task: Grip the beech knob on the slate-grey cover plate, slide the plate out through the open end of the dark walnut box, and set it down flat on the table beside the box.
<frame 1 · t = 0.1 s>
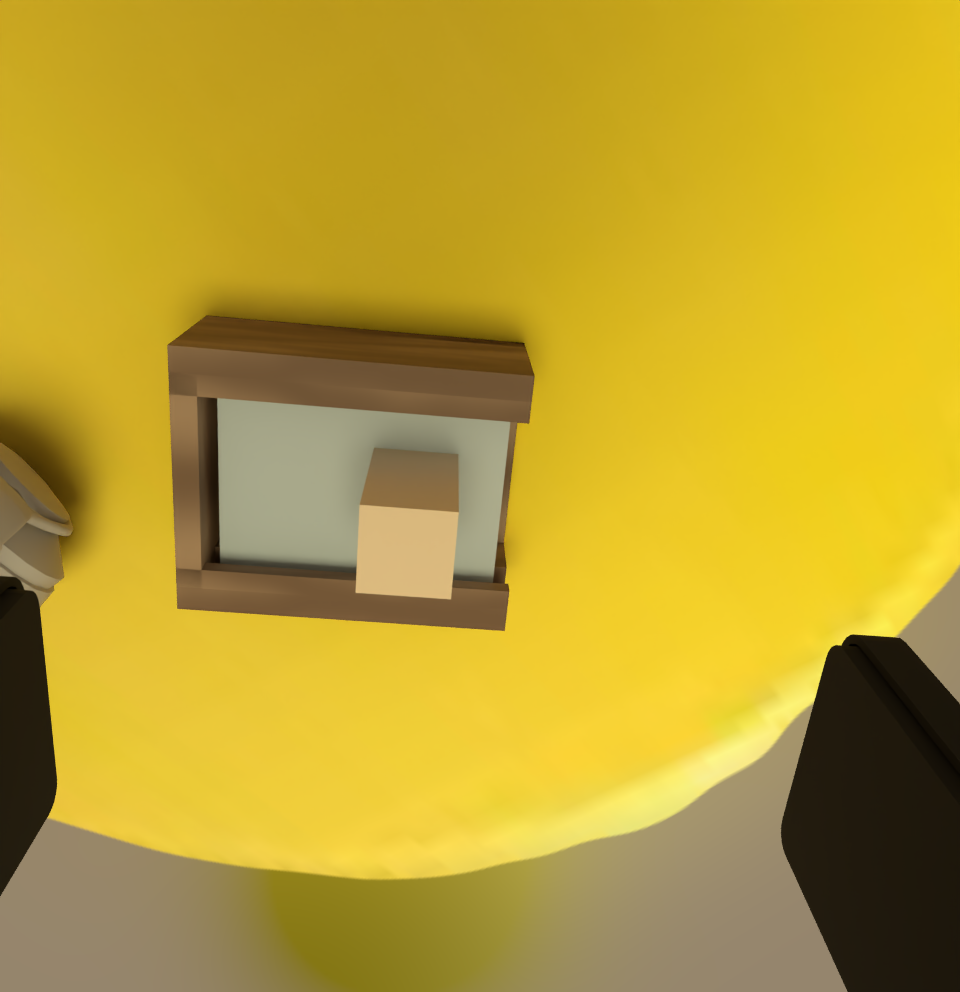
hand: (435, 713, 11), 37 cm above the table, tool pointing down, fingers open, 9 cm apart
cover plate: (363, 478, 44), point 4 cm above the table, touching walnut box
walnut box: (361, 450, 48), on the table
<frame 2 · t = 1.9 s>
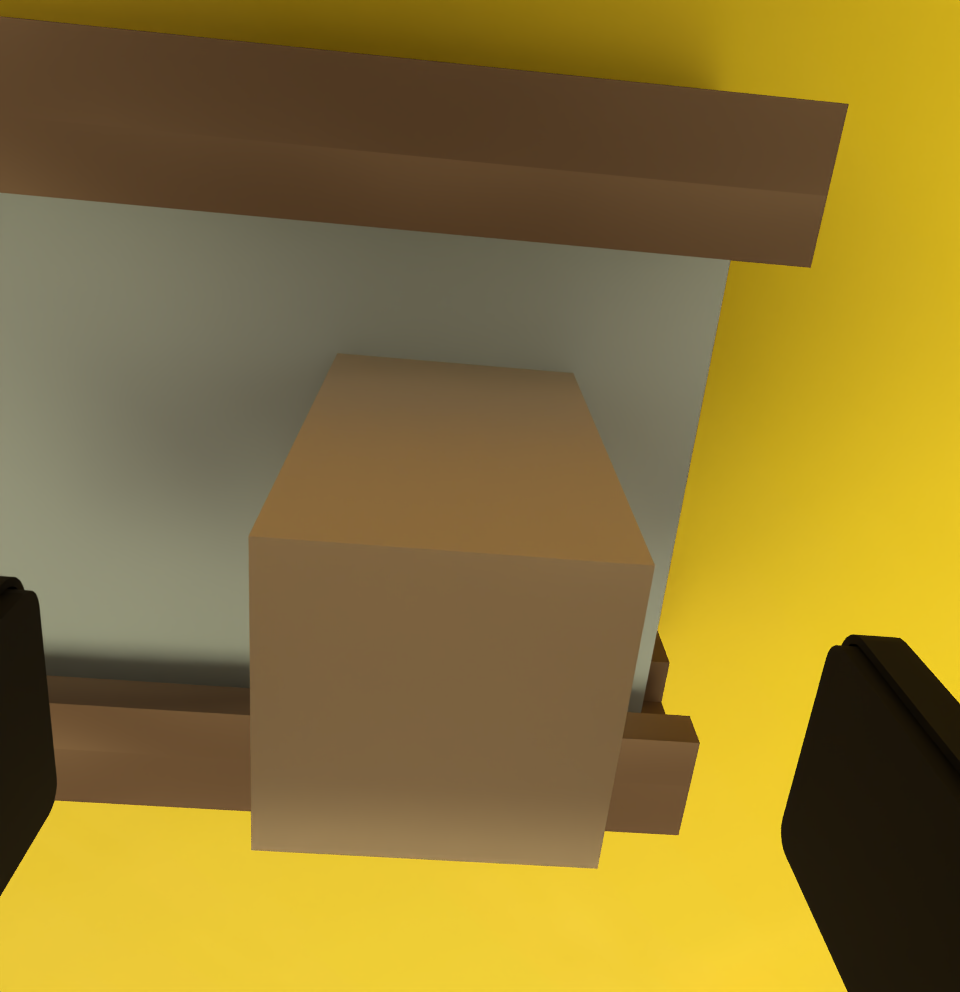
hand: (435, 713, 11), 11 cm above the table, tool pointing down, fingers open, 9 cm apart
cover plate: (313, 442, 17), point 4 cm above the table, touching walnut box
walnut box: (317, 379, 21), on the table
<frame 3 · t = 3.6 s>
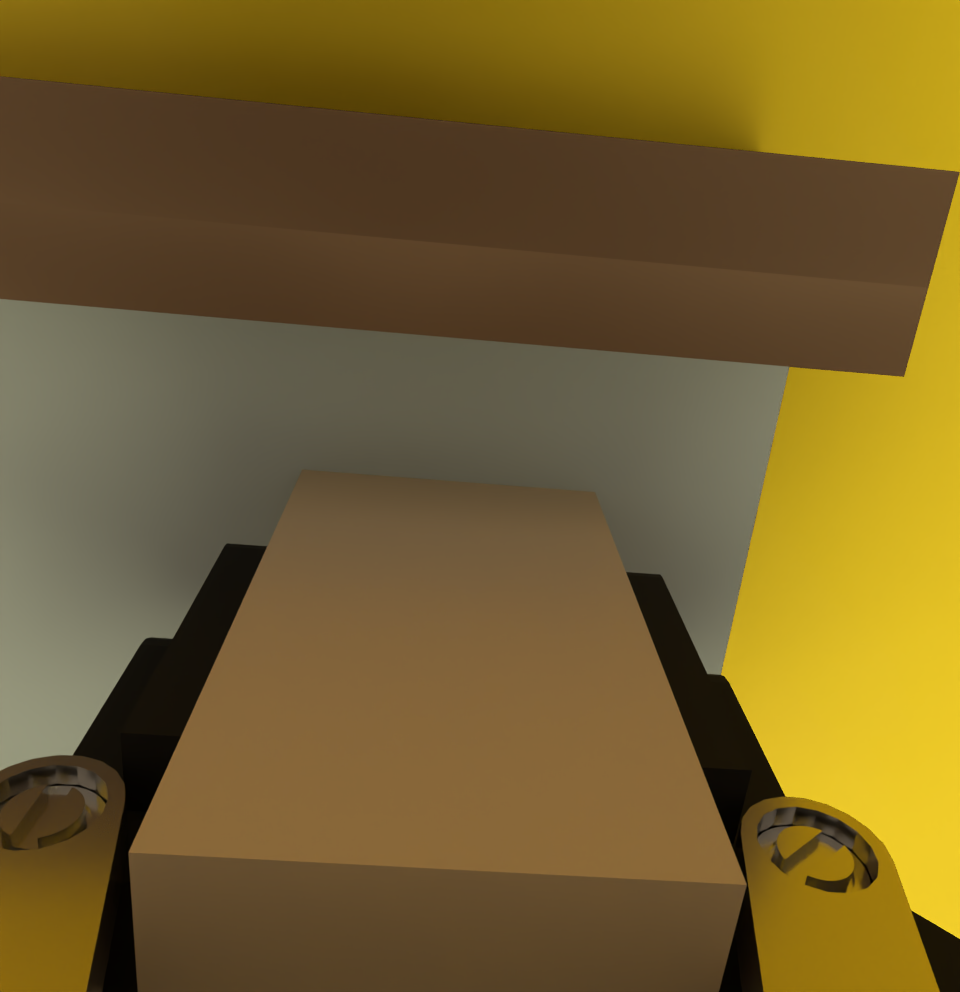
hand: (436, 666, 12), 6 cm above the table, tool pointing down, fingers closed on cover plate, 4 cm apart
cover plate: (277, 566, 14), point 4 cm above the table, touching gripper, walnut box
walnut box: (288, 472, 18), on the table
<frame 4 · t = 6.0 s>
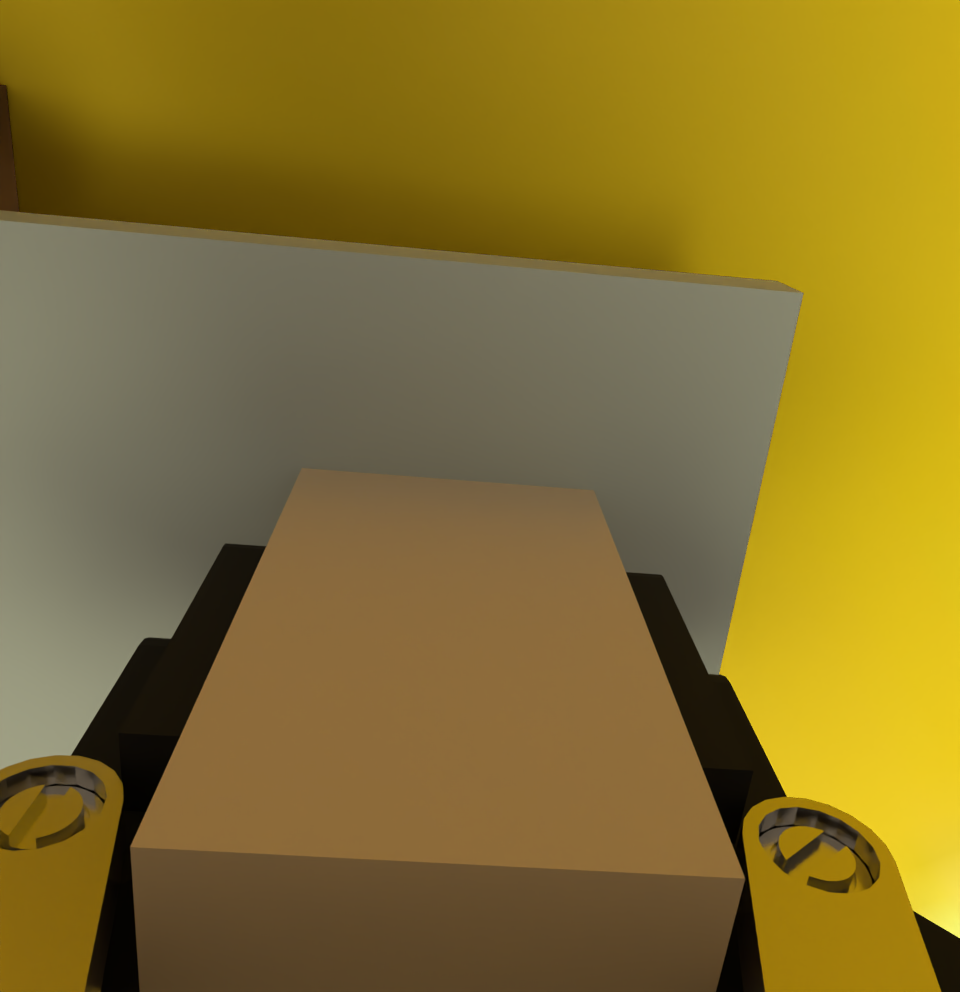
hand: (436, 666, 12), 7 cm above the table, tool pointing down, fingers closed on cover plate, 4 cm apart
cover plate: (276, 565, 14), point 4 cm above the table, touching gripper
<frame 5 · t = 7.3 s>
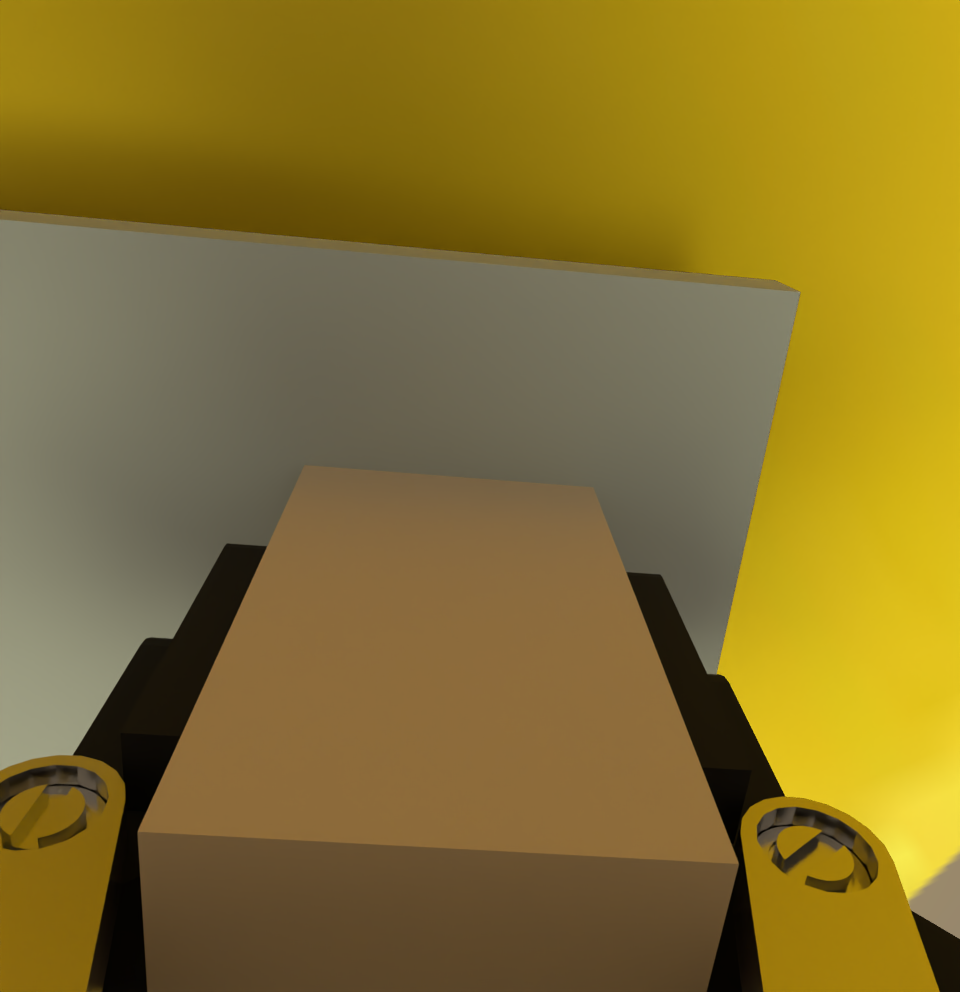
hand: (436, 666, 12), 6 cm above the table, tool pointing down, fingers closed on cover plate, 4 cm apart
cover plate: (279, 561, 14), point 4 cm above the table, touching gripper
when the fingers open (3 cm above the table, at t = 8.6 s): cover plate drops 1 cm, on the table.
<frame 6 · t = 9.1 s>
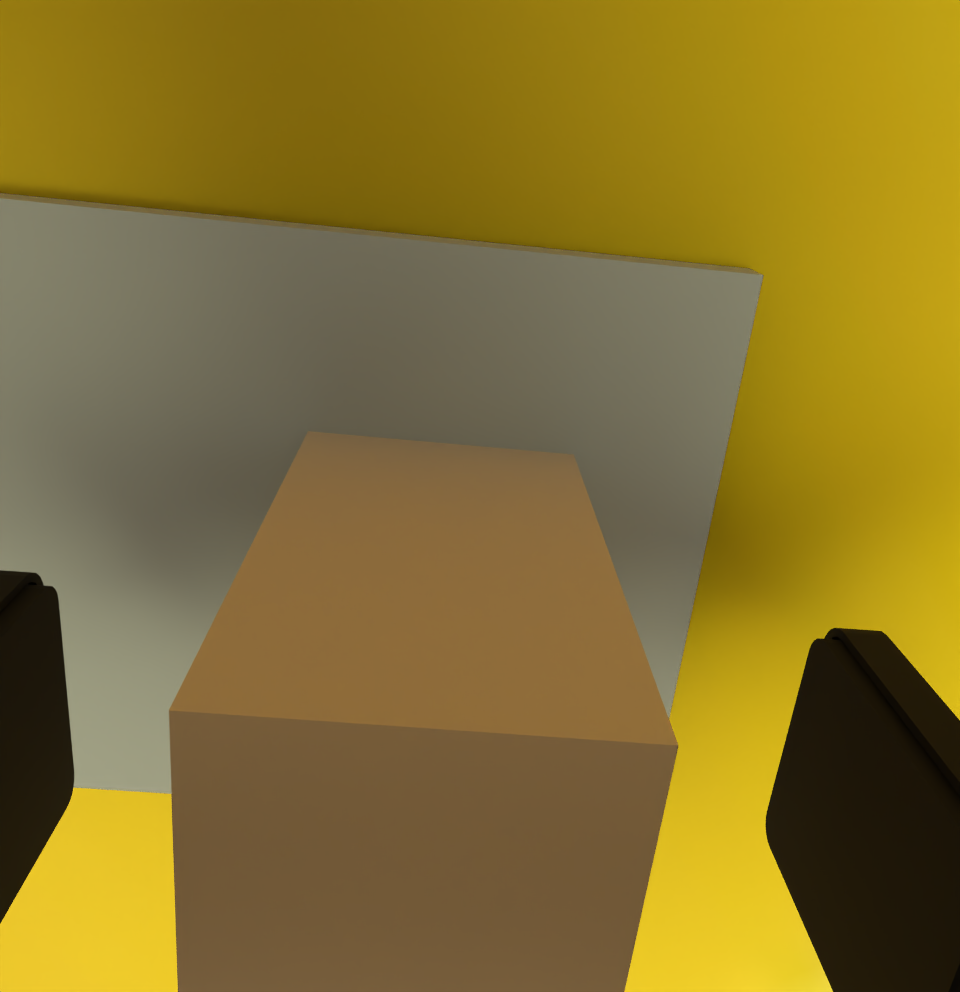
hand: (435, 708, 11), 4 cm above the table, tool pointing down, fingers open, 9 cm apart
cover plate: (283, 523, 15), on the table
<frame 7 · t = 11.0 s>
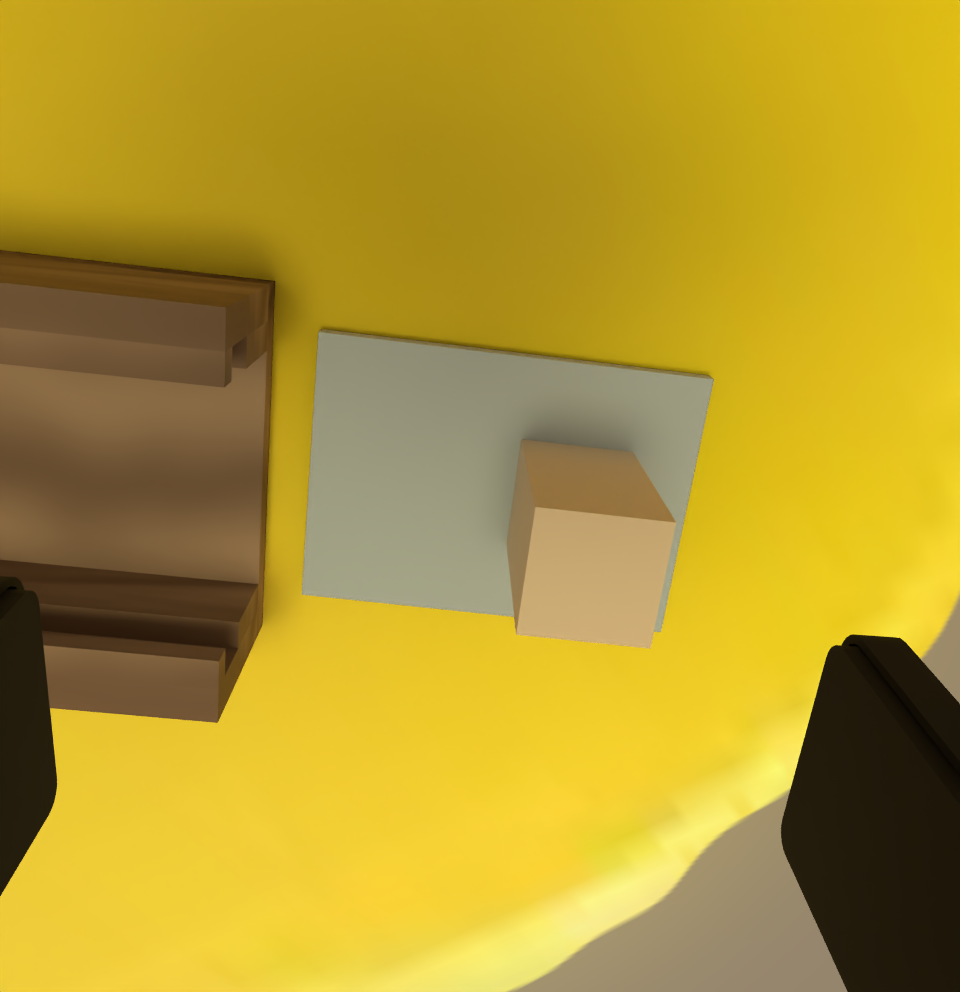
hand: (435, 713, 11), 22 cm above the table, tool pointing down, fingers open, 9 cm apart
cover plate: (499, 482, 33), on the table
walnut box: (42, 441, 32), on the table
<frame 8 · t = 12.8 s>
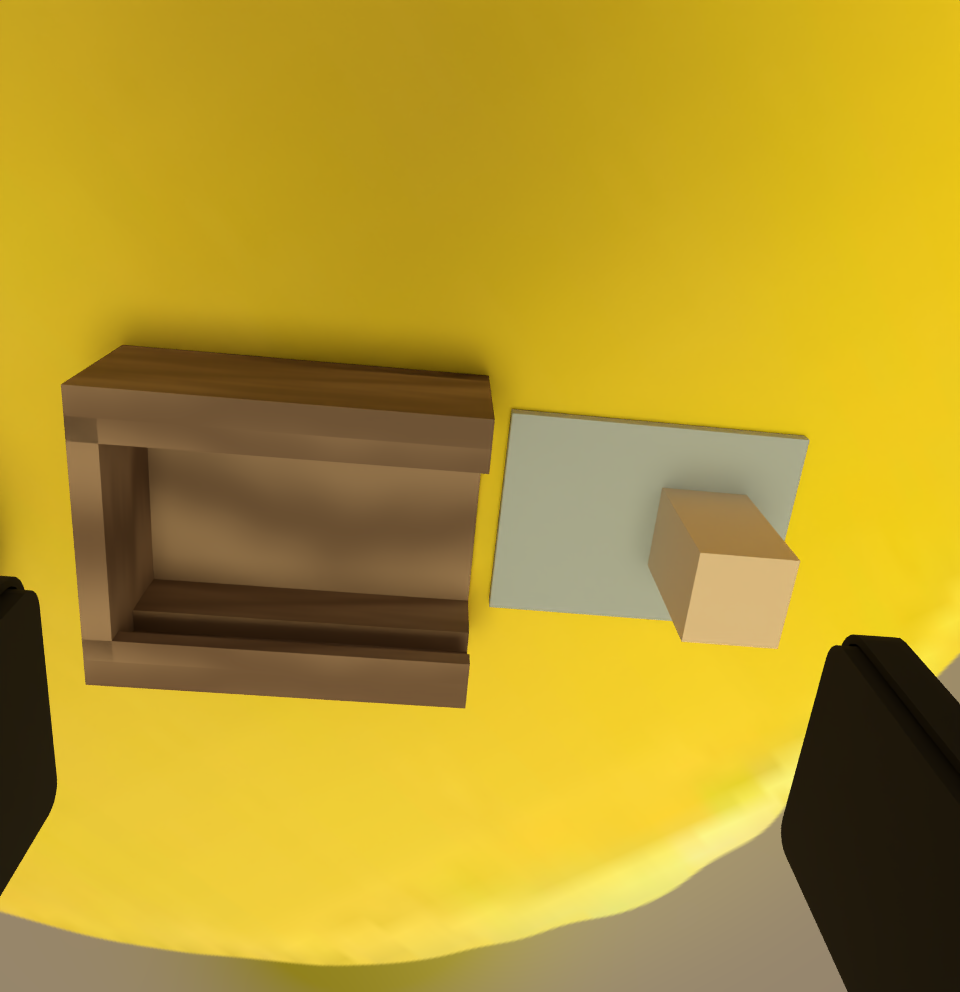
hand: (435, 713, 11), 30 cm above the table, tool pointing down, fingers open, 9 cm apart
cover plate: (640, 517, 43), on the table
walnut box: (304, 497, 42), on the table
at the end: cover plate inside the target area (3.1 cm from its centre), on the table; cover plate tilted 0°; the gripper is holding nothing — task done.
